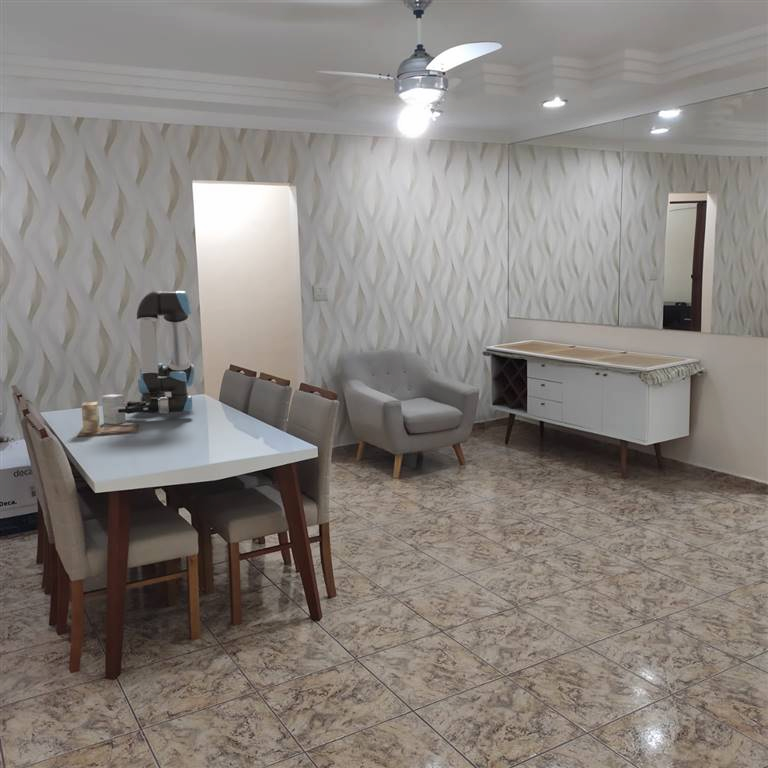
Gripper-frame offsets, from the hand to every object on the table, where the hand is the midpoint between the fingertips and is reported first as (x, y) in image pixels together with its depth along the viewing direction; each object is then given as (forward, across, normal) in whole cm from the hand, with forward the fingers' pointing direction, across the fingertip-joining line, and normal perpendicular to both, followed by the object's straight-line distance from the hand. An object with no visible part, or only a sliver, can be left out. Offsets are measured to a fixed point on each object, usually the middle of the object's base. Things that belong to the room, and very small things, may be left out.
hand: (111, 408), depth 351 cm
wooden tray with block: (0, -19, -7) cm, 20 cm away
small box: (-1, +1, -7) cm, 7 cm away
